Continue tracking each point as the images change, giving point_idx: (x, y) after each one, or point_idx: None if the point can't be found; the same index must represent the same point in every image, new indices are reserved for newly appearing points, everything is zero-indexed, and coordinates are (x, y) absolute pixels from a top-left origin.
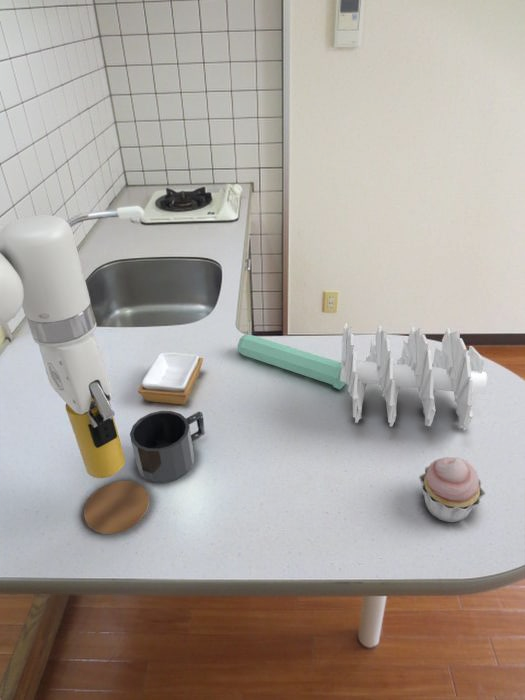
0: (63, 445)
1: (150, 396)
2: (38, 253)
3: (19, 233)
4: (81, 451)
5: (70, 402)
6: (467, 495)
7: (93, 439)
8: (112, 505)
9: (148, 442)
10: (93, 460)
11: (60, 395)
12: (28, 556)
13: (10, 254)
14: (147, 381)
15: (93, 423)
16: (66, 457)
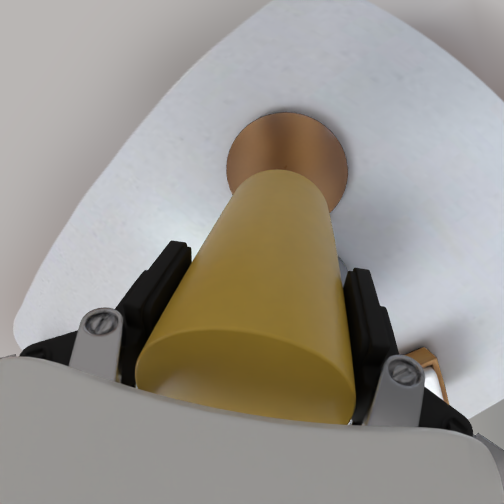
0: (483, 208)
1: (417, 358)
2: None
3: None
4: (270, 198)
5: (31, 424)
6: None
7: (158, 260)
8: (291, 167)
9: None
10: (233, 201)
11: (273, 443)
12: (319, 12)
13: None
14: (430, 378)
15: (80, 328)
16: (461, 192)
